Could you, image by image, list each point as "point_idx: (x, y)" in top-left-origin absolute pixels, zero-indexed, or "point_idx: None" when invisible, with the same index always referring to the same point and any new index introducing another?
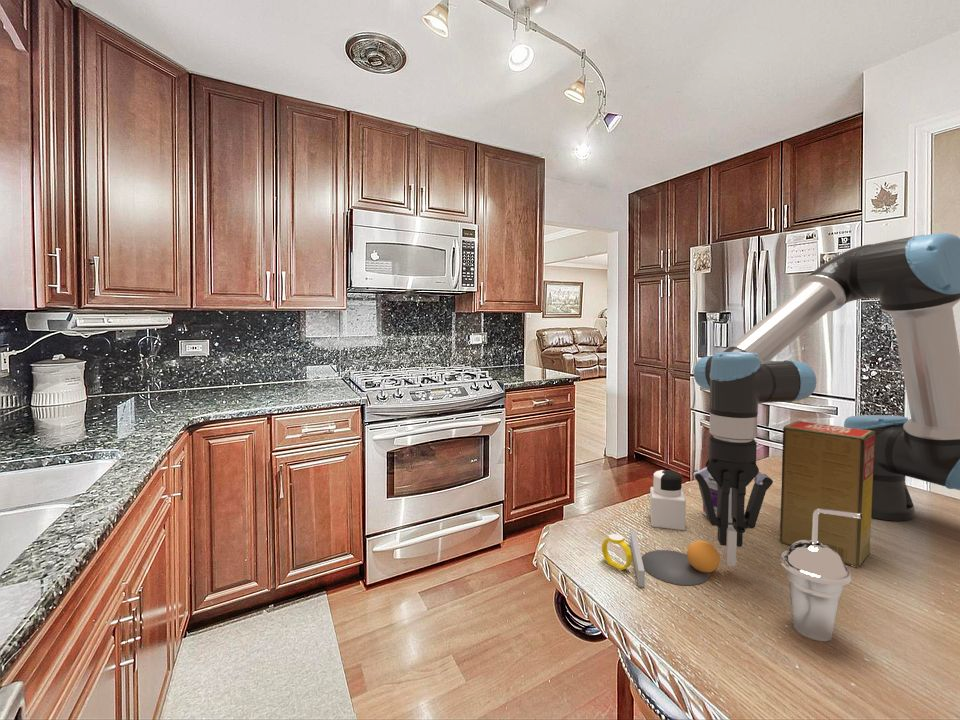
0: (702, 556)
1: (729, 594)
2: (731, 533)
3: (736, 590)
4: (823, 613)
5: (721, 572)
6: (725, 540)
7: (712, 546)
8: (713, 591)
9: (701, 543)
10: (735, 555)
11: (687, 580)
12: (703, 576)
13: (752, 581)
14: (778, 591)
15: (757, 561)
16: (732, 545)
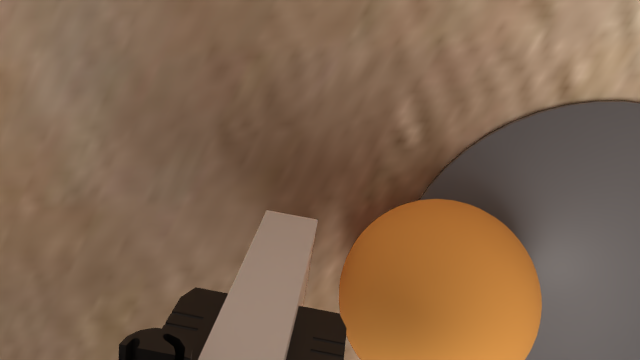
0: (491, 247)
1: (396, 18)
2: (251, 354)
3: (334, 61)
4: None
5: (332, 232)
6: (300, 333)
7: (389, 323)
8: (477, 46)
9: (469, 348)
10: (256, 243)
11: (585, 145)
12: (464, 185)
13: (203, 150)
14: (105, 59)
15: (97, 324)
16: (263, 286)
